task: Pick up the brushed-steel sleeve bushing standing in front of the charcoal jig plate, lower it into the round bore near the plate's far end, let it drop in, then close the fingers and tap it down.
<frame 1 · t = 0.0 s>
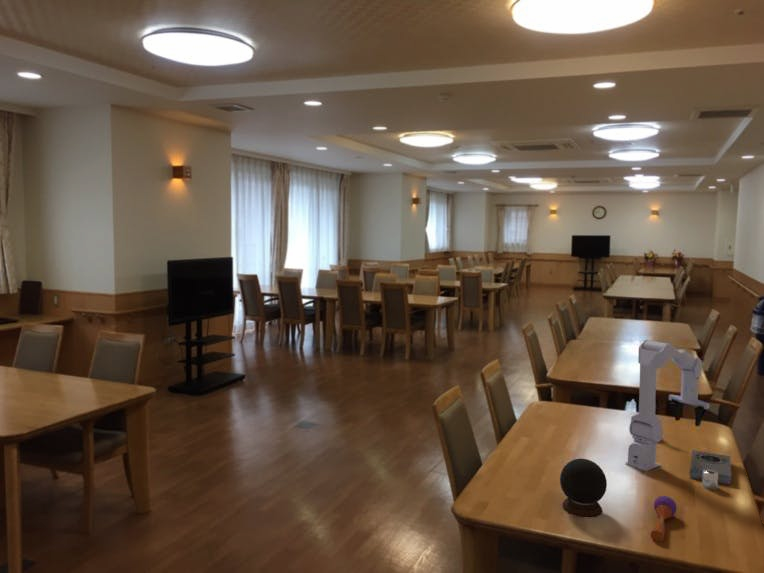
hand: (687, 422, 227), 10 cm above the table, fingers open, 7 cm apart
hand bell: (651, 438, 239), on the table
bushing: (709, 487, 193), on the table
black ball on stand: (581, 509, 178), on the table
kendama: (661, 527, 168), on the table
jig: (710, 470, 207), on the table
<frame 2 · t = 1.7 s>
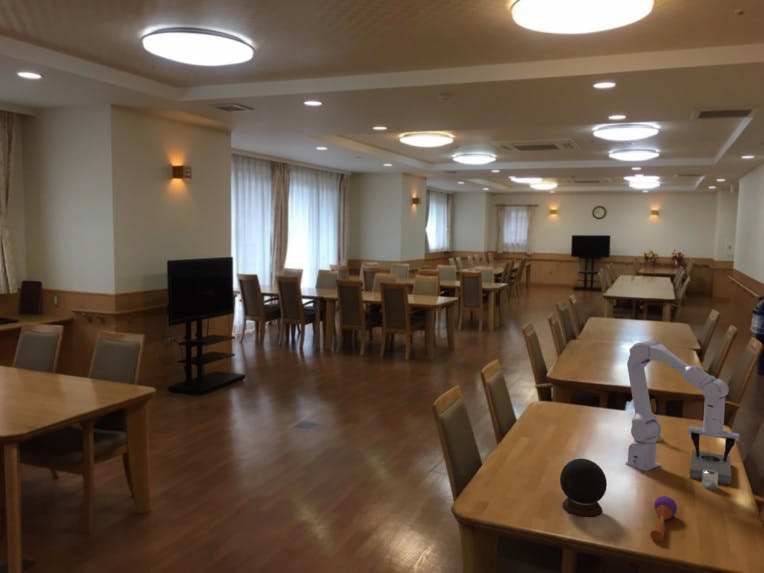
hand: (711, 458, 193), 9 cm above the table, fingers open, 7 cm apart
nothing on the table moved.
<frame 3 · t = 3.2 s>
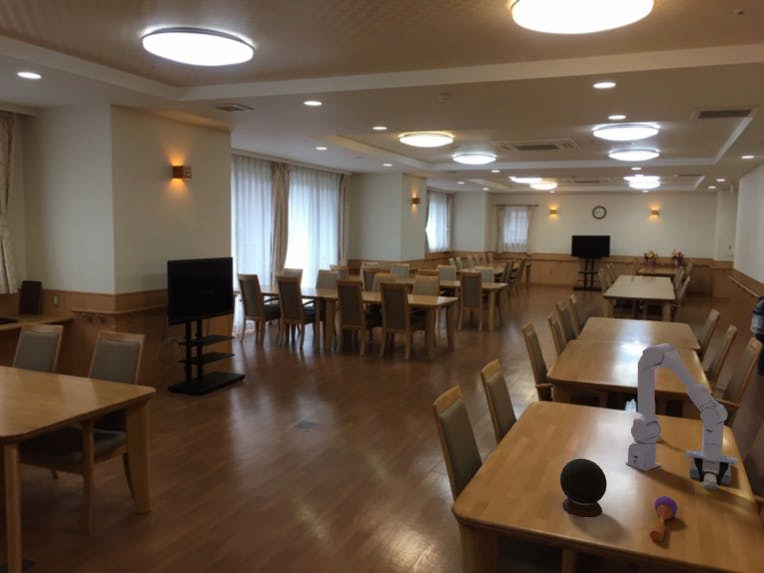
hand: (709, 482, 193), 1 cm above the table, fingers closed on bushing, 4 cm apart
bushing: (709, 486, 193), on the table, touching gripper
everything else where it was.
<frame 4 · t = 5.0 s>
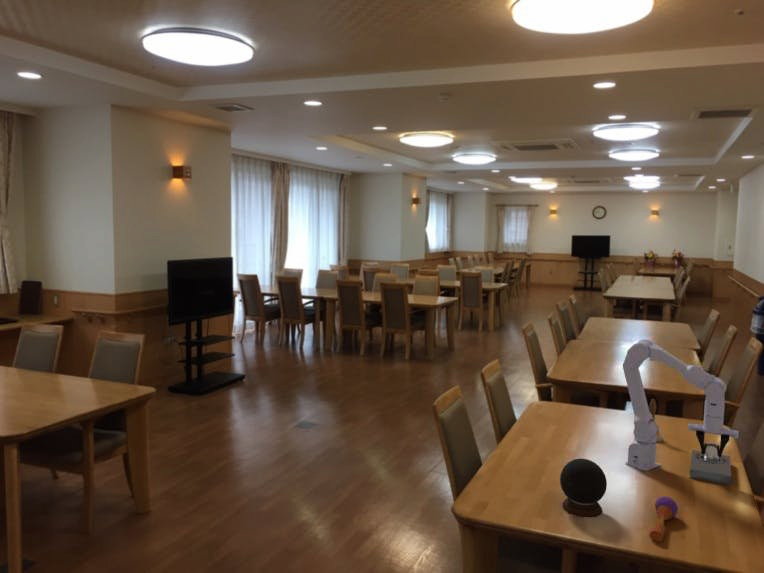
hand: (711, 454, 199), 8 cm above the table, fingers closed on bushing, 4 cm apart
bushing: (711, 459, 199), point 7 cm above the table, touching gripper
everything else where it was.
when the fingers open (4 cm above the table, at t = 7.0 s): bushing drops 2 cm, resting in jig.
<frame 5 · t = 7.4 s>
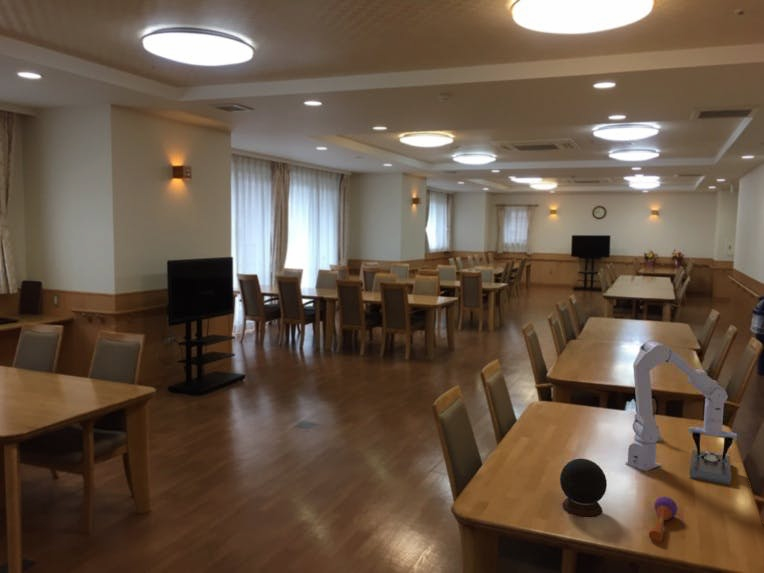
hand: (711, 456, 210), 4 cm above the table, fingers open, 7 cm apart
bushing: (710, 467, 210), resting in jig
everything else where it was.
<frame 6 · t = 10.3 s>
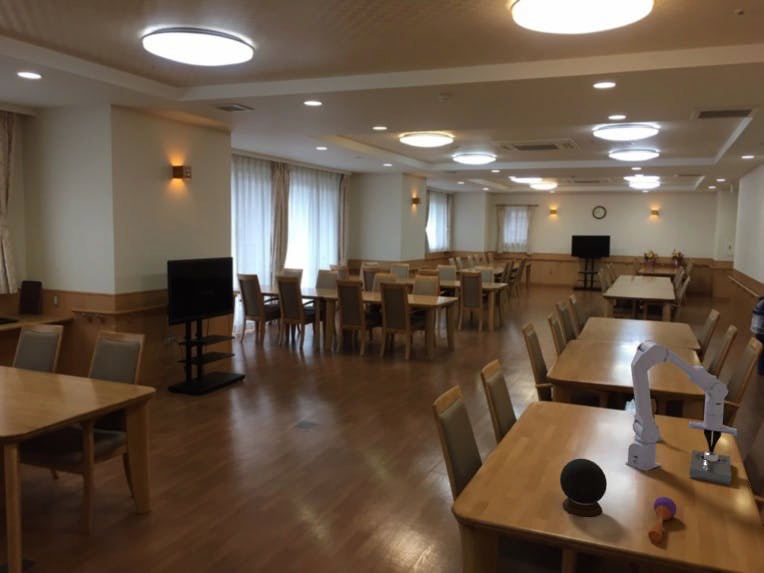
hand: (711, 451, 209), 6 cm above the table, fingers closed
nothing on the table moved.
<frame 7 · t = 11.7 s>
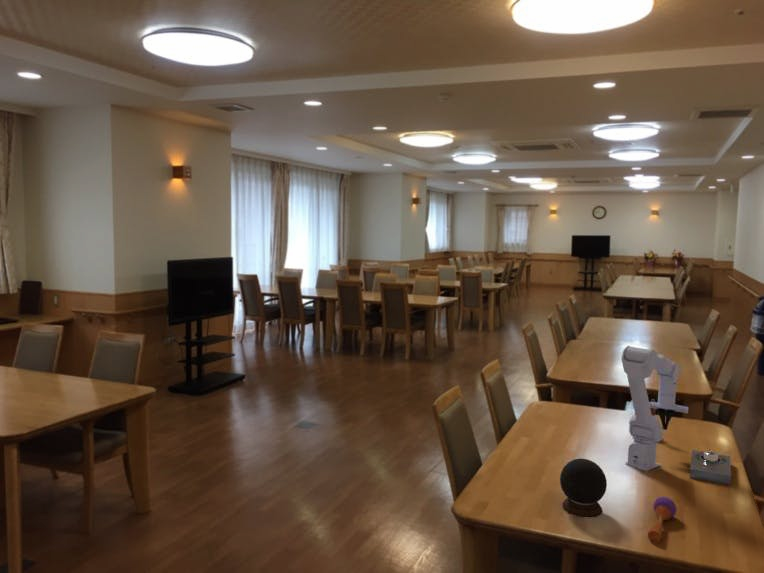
hand: (665, 428, 221), 9 cm above the table, fingers closed
nothing on the table moved.
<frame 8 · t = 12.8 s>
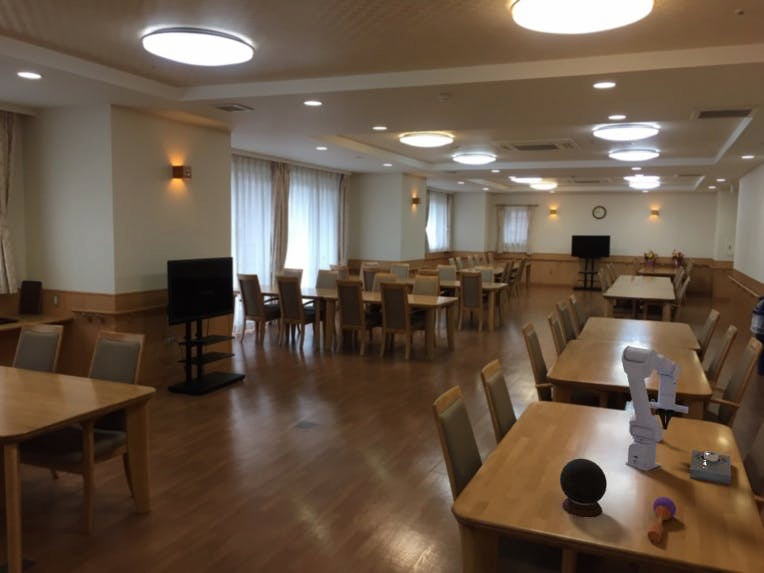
hand: (665, 428, 221), 9 cm above the table, fingers closed
nothing on the table moved.
at the end: bushing 0.2 cm from the target spot on the jig, point 0.0 cm above the jig's base; bushing tilted 1°; the gripper is holding nothing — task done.
